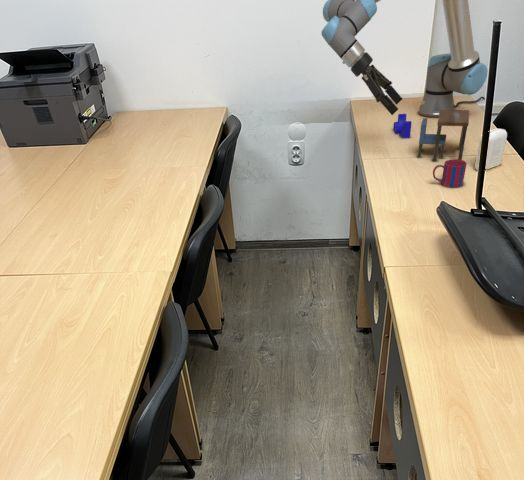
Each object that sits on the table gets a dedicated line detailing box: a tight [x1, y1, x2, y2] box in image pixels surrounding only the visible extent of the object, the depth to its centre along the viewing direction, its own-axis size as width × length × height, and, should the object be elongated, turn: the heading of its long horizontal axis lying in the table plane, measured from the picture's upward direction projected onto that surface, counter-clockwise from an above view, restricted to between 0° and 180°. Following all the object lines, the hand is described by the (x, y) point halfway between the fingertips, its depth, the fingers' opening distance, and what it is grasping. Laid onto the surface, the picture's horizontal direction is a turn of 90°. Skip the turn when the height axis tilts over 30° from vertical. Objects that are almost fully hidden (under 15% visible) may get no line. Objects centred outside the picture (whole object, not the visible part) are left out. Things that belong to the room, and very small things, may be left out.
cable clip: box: [392, 113, 412, 139], centre depth 211 cm, size 12×4×6 cm, turn 179°
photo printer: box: [474, 128, 508, 171], centre depth 176 cm, size 10×4×12 cm, turn 123°
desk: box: [432, 109, 470, 162], centre depth 187 cm, size 10×15×14 cm, turn 163°
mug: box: [432, 158, 467, 188], centre depth 168 cm, size 7×10×7 cm
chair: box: [417, 117, 447, 159], centre depth 189 cm, size 9×8×12 cm
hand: (397, 107), depth 186 cm, fingers open, 13 cm apart
